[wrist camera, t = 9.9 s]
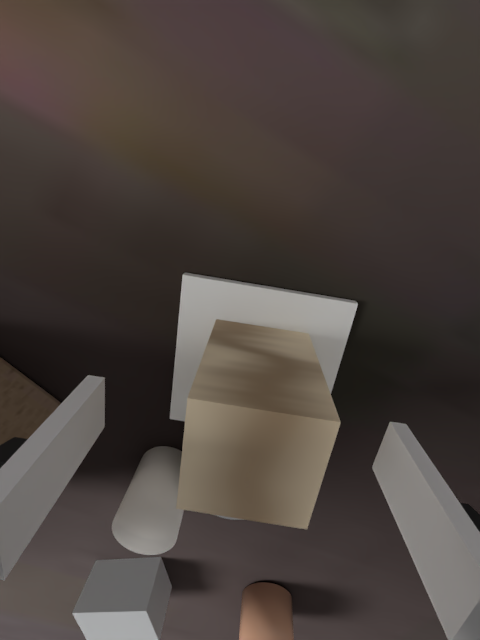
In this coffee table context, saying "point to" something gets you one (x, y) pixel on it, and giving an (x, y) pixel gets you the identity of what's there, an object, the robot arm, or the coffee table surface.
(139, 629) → the grey box
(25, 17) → the coffee table surface
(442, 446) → the coffee table surface
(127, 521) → the grey rounded cylinder
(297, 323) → the coaster
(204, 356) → the maple block
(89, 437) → the robot arm
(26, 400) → the wooden block
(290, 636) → the peach capsule
